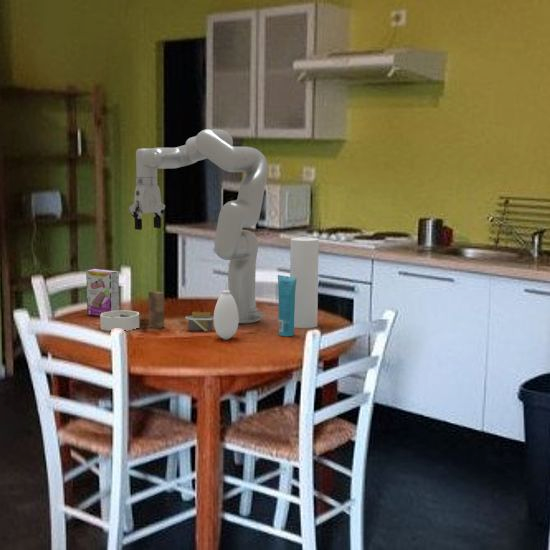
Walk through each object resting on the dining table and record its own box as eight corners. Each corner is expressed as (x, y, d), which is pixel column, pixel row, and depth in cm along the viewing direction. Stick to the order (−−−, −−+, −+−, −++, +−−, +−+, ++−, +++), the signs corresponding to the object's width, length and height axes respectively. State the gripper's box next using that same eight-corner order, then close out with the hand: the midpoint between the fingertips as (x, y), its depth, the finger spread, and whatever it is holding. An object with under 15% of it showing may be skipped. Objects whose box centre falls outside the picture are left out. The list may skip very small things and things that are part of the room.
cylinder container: (285, 323, 278) (285, 236, 273) (309, 321, 282) (310, 235, 277) (297, 329, 269) (298, 239, 265) (322, 326, 273) (323, 238, 269)
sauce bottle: (210, 340, 252) (210, 283, 249) (218, 335, 259) (218, 279, 256) (234, 342, 250) (234, 284, 247) (241, 337, 257) (241, 281, 254)
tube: (300, 335, 260) (300, 276, 258) (292, 337, 256) (292, 278, 253) (280, 332, 264) (280, 274, 261) (272, 335, 260) (272, 276, 257)
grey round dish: (147, 326, 272) (146, 313, 271) (119, 332, 262) (119, 319, 261) (120, 321, 279) (120, 309, 278) (92, 328, 269) (92, 314, 268)
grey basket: (226, 336, 260) (225, 316, 259) (170, 335, 260) (169, 315, 259) (229, 328, 271) (229, 309, 270) (175, 328, 272) (175, 308, 271)
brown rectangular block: (164, 327, 270) (163, 292, 268) (159, 329, 268) (158, 293, 266) (154, 326, 272) (153, 291, 271) (149, 327, 270) (148, 292, 269)
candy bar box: (86, 315, 290) (85, 270, 287) (95, 313, 294) (94, 268, 292) (111, 318, 284) (110, 272, 282) (120, 316, 289) (119, 270, 286)
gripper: (136, 182, 289) (138, 230, 291) (170, 181, 302) (171, 227, 305) (122, 182, 293) (123, 229, 296) (156, 181, 307) (157, 226, 309)
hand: (148, 228), depth 300 cm, fingers open, 9 cm apart
